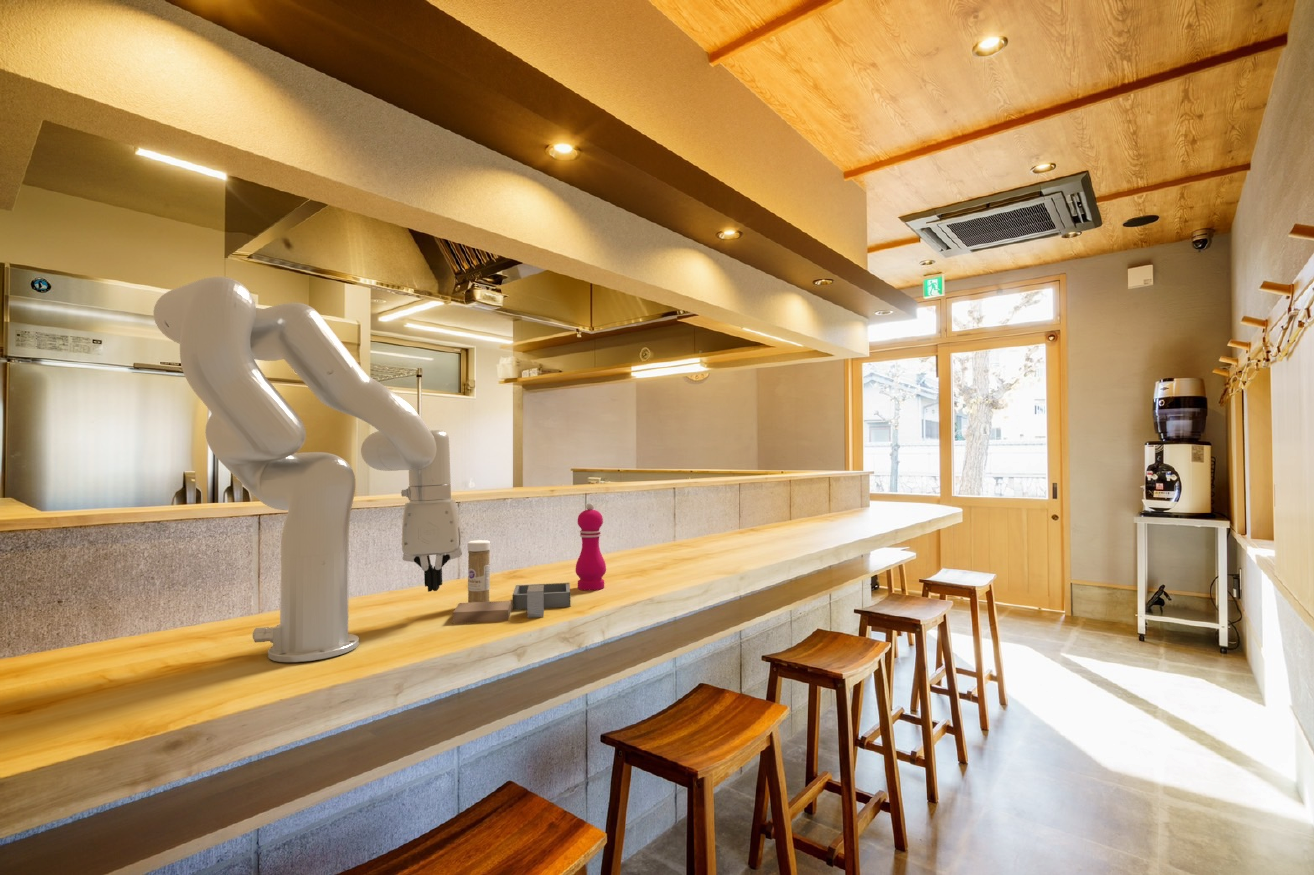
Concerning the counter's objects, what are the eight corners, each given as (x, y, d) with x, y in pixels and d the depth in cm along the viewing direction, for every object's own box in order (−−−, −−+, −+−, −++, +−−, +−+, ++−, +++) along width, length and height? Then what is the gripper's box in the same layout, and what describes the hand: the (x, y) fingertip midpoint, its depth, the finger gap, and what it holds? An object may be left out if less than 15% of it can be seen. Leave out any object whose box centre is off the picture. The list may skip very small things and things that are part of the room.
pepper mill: (608, 585, 147) (607, 501, 148) (603, 591, 140) (602, 503, 141) (579, 584, 148) (578, 502, 149) (572, 591, 141) (571, 504, 142)
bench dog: (527, 618, 116) (527, 591, 116) (528, 610, 122) (528, 585, 122) (543, 617, 117) (543, 590, 117) (544, 609, 123) (543, 584, 123)
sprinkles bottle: (463, 607, 126) (463, 542, 126) (475, 602, 130) (474, 539, 131) (483, 608, 125) (482, 542, 125) (494, 603, 129) (494, 539, 130)
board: (452, 626, 113) (452, 612, 113) (459, 615, 121) (459, 603, 121) (508, 623, 115) (508, 609, 115) (511, 613, 122) (511, 600, 123)
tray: (512, 609, 123) (512, 595, 123) (516, 598, 134) (515, 585, 134) (570, 606, 125) (570, 592, 125) (569, 595, 136) (569, 582, 136)
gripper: (383, 498, 113) (387, 597, 112) (467, 494, 115) (471, 591, 115) (394, 494, 120) (397, 588, 120) (473, 491, 122) (476, 582, 122)
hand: (433, 589), depth 117 cm, fingers closed
